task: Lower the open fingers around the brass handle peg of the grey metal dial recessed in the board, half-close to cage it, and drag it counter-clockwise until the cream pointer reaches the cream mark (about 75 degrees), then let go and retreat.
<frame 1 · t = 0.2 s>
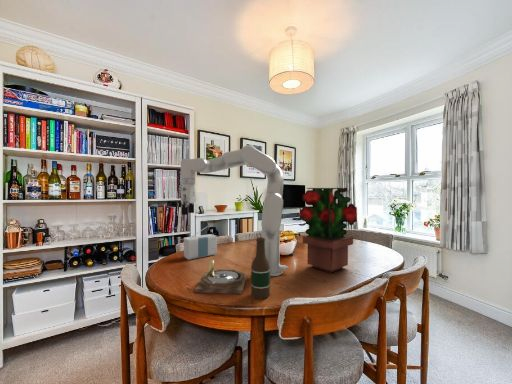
hand: (187, 213, 131), 31 cm above the table, fingers open, 9 cm apart
dial: (223, 270, 113), point 6 cm above the table, hinge at 0.0°
beer bottle: (260, 295, 101), on the table
stereo radio cassette player: (200, 256, 159), on the table
dial housing: (223, 283, 113), on the table
potted plant: (327, 268, 137), on the table
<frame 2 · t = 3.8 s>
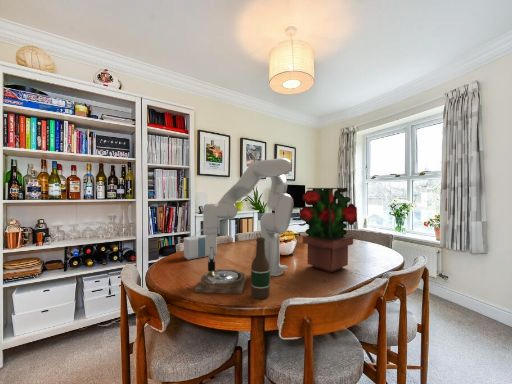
hand: (211, 269, 113), 7 cm above the table, fingers closed on dial, 2 cm apart
dial: (223, 270, 113), point 6 cm above the table, hinge at 0.0°, touching gripper
everything else where it was.
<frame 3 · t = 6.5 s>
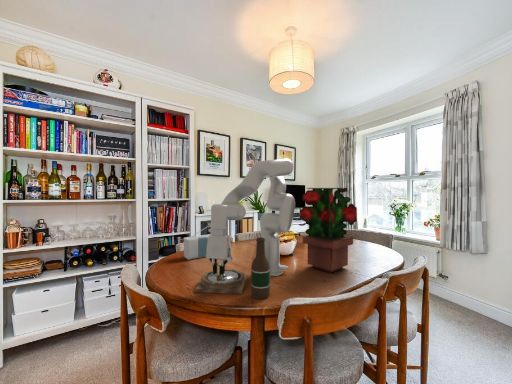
hand: (218, 273, 107), 7 cm above the table, fingers closed on dial, 2 cm apart
dial: (223, 270, 113), point 6 cm above the table, hinge at 83.0°, touching gripper
everything else where it was.
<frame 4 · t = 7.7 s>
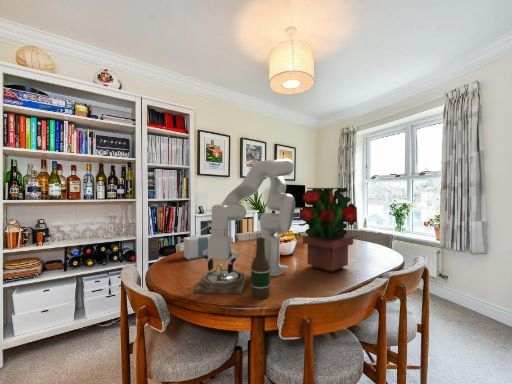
hand: (220, 271, 108), 8 cm above the table, fingers open, 9 cm apart
dial: (223, 270, 113), point 6 cm above the table, hinge at 83.9°
everything else where it was.
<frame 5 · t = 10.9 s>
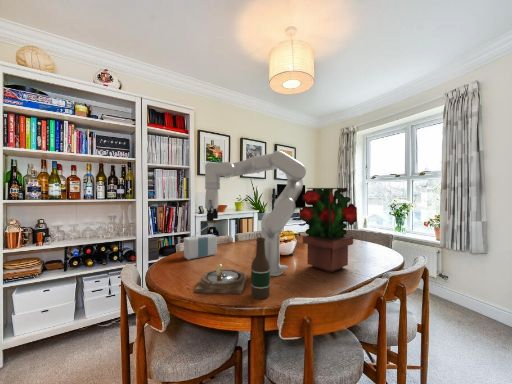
hand: (212, 219, 125), 28 cm above the table, fingers open, 9 cm apart
nothing on the table moved.
at the end: dial at +84° (first picture: +0°); beer bottle moved 0.2 cm from its start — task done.
